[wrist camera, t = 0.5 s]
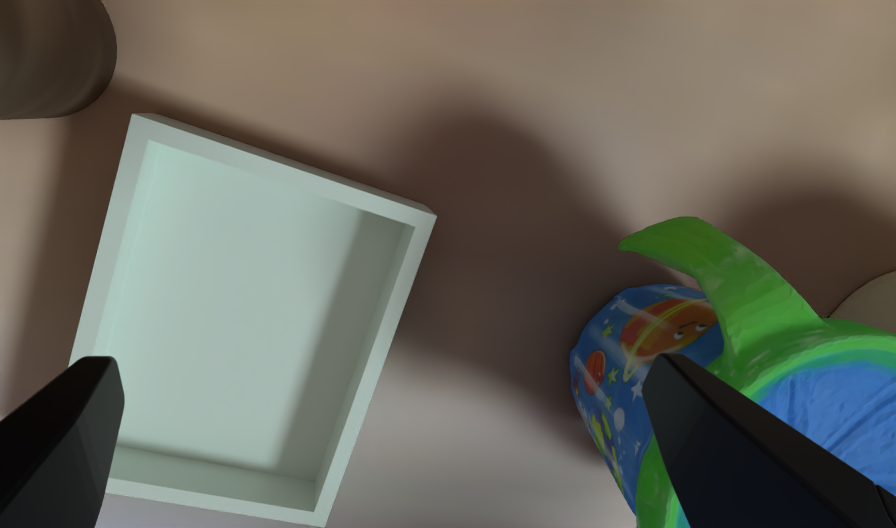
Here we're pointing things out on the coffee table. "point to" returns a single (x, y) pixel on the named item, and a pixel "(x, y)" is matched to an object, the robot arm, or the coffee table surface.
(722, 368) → the snack cup
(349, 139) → the coffee table surface
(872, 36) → the coffee table surface
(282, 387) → the dish
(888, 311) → the sugar bowl
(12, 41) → the pepper mill
